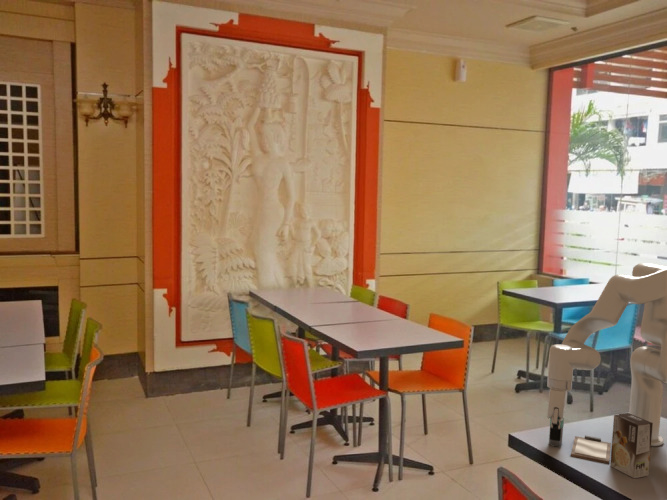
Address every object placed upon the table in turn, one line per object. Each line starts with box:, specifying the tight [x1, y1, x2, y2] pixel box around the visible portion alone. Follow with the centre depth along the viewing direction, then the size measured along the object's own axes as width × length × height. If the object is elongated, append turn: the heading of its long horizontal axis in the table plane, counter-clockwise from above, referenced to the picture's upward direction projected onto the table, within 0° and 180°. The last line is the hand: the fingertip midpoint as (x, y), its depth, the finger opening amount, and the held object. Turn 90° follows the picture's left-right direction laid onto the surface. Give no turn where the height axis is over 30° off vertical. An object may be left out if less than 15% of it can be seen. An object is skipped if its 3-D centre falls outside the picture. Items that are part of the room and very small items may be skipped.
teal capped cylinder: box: [548, 416, 565, 447], centre depth 200 cm, size 4×4×9 cm
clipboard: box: [570, 435, 612, 465], centre depth 197 cm, size 16×11×2 cm
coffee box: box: [609, 412, 653, 479], centre depth 182 cm, size 9×6×16 cm
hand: (555, 436), depth 201 cm, fingers closed on teal capped cylinder, 4 cm apart
